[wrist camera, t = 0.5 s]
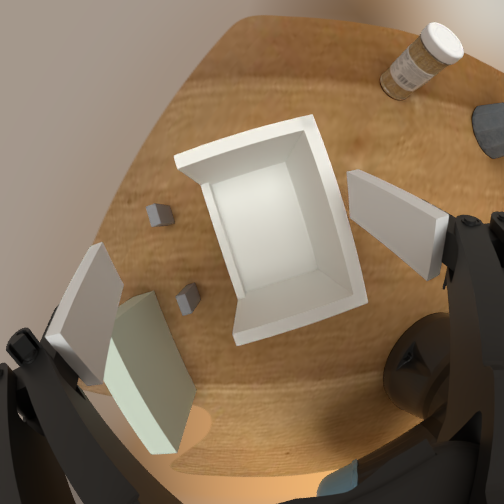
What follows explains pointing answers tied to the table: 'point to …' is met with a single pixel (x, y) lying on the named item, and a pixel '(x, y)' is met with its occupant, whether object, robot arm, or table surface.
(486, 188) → the table surface
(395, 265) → the table surface
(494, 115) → the moka pot
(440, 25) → the sprinkles bottle
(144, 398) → the door
